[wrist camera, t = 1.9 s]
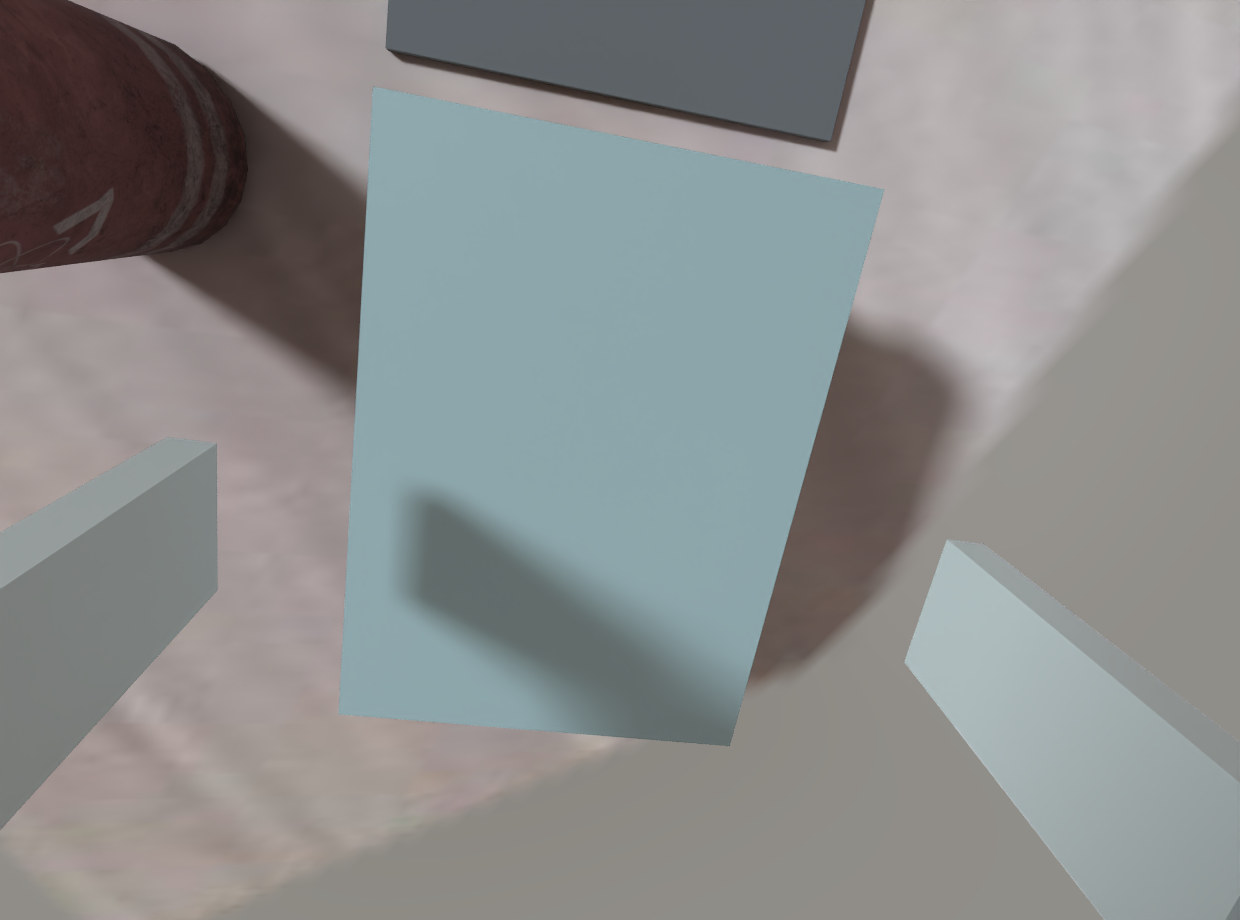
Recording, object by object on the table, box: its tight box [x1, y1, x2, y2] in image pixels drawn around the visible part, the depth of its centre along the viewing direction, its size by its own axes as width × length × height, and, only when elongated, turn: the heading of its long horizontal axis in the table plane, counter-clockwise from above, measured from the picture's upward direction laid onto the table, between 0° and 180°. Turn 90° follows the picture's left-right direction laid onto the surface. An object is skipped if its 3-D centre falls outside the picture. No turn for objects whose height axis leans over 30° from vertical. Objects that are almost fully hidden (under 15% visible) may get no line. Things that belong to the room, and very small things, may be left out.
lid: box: [339, 87, 884, 746], centre depth 18 cm, size 14×10×6 cm
